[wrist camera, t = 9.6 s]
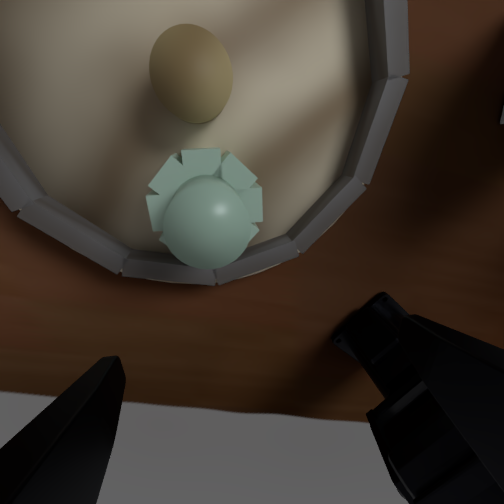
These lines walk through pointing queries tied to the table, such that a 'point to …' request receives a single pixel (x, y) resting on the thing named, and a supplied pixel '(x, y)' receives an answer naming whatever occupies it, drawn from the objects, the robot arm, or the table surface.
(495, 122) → the table surface
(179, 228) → the pale green domed piece
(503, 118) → the supplement box
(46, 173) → the carrier plate
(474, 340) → the robot arm
